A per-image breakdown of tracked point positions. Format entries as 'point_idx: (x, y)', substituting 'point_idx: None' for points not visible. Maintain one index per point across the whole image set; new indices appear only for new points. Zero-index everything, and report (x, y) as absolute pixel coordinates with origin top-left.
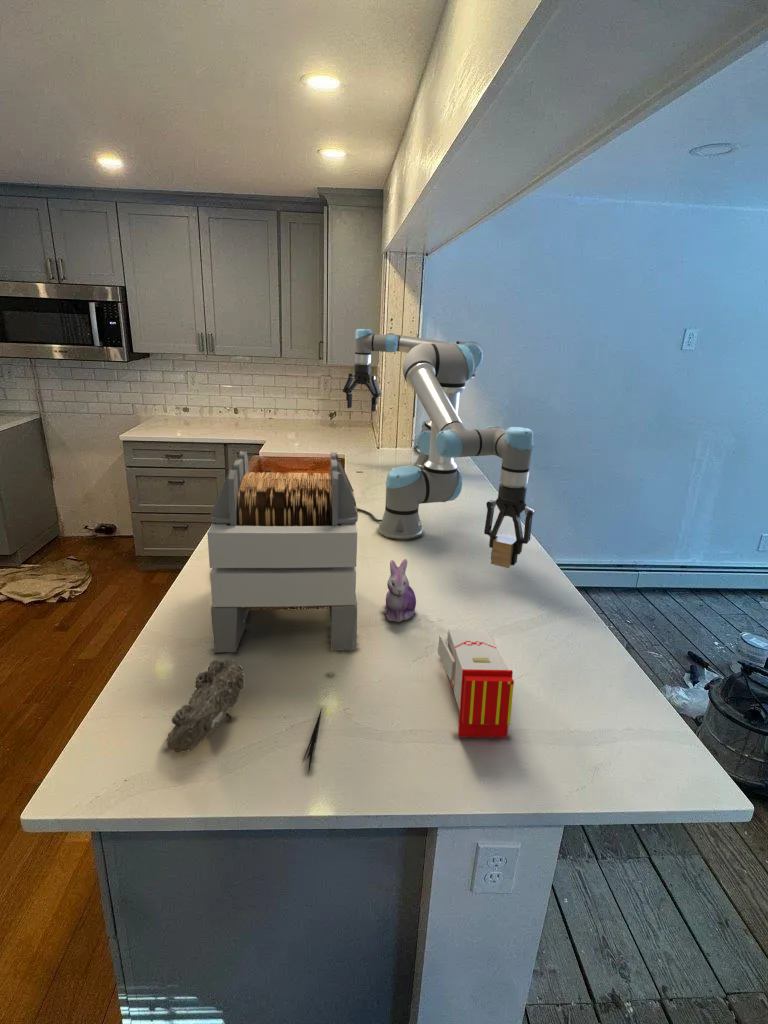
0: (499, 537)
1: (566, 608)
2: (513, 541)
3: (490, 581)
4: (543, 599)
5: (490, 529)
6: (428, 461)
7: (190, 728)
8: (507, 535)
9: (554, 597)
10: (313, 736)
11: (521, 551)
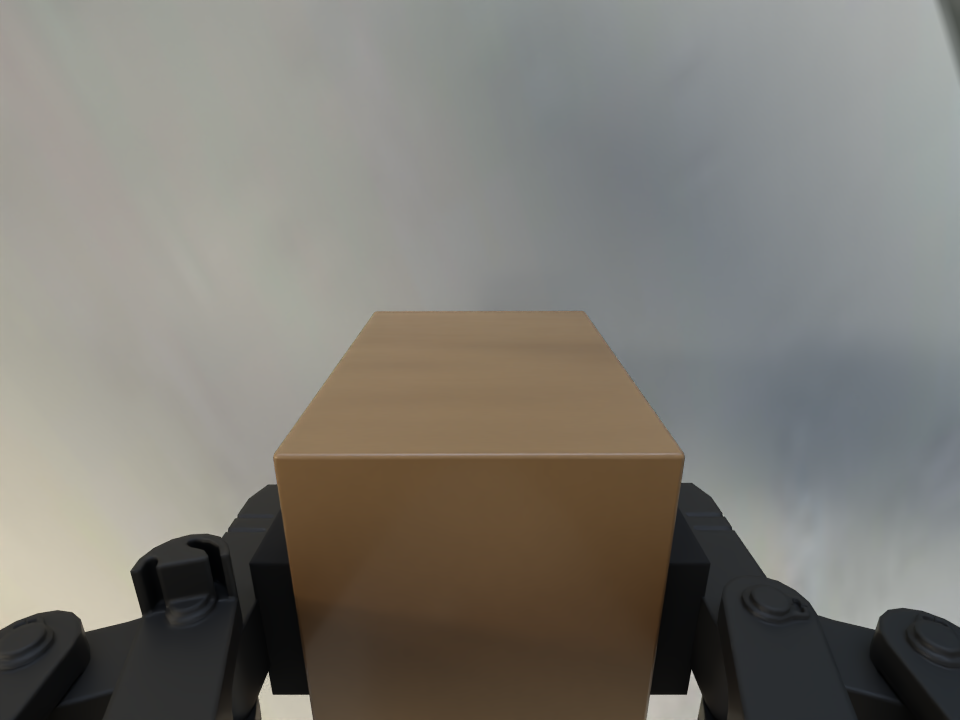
0: (346, 659)
1: (951, 436)
2: (626, 682)
3: None
4: (800, 404)
5: (50, 708)
6: None
7: None
8: (433, 499)
9: (874, 335)
10: None
11: (711, 505)
